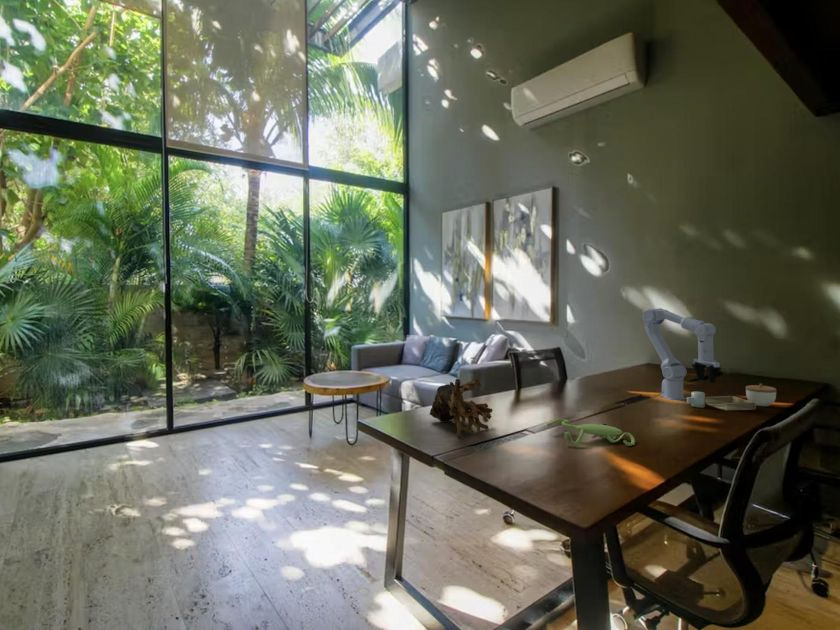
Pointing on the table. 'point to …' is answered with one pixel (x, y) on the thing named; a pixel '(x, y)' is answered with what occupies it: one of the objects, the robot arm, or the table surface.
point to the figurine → (594, 431)
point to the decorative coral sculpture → (459, 406)
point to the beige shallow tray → (730, 403)
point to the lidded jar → (761, 394)
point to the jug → (697, 399)
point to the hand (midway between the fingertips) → (706, 381)
